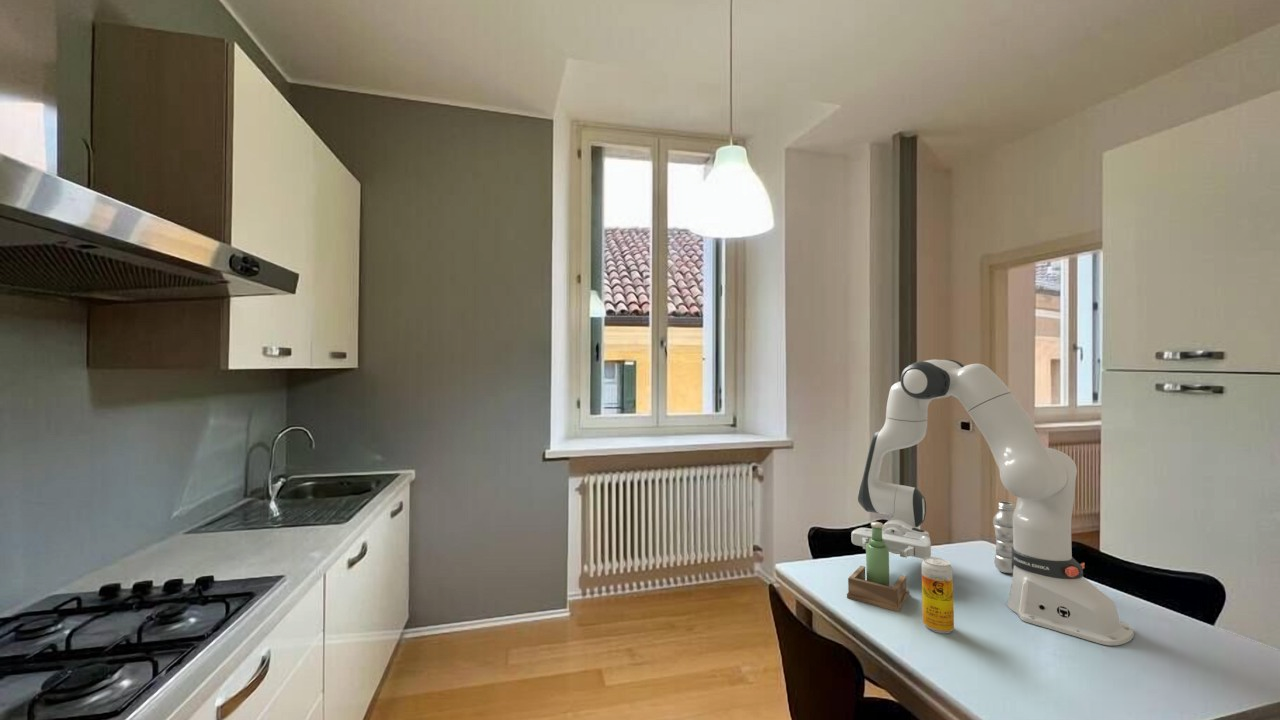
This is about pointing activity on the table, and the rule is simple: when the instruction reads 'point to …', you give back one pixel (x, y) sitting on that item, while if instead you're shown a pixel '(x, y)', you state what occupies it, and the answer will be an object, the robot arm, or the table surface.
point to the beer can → (937, 594)
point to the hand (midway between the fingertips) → (883, 550)
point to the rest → (877, 591)
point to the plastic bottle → (1004, 536)
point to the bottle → (877, 557)
